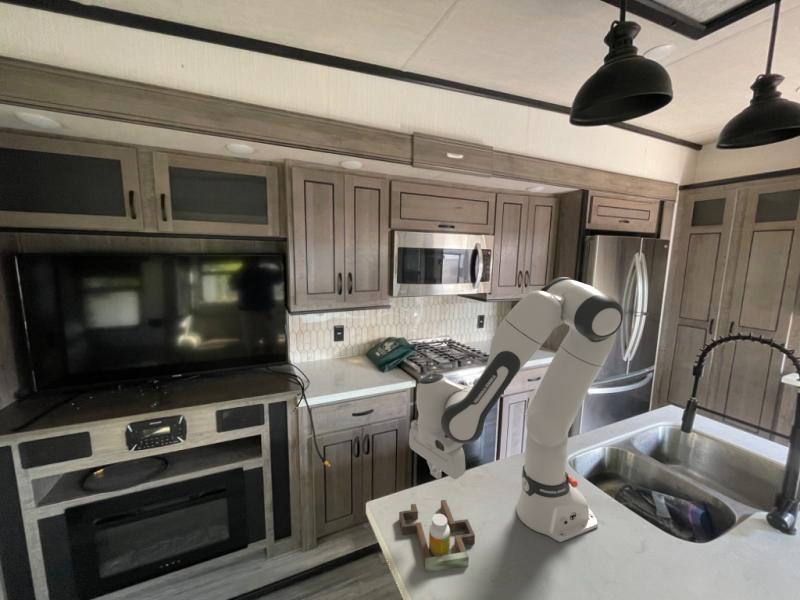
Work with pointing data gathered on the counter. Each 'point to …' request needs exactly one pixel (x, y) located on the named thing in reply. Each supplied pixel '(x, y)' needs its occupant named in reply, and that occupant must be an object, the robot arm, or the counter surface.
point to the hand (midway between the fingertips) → (436, 475)
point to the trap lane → (460, 540)
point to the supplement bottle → (439, 536)
